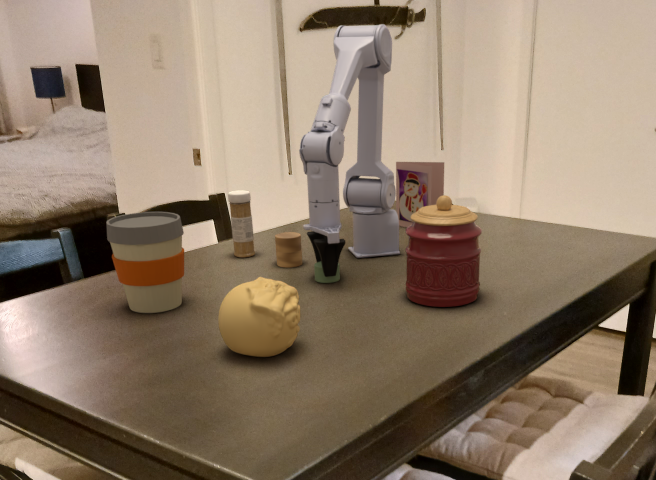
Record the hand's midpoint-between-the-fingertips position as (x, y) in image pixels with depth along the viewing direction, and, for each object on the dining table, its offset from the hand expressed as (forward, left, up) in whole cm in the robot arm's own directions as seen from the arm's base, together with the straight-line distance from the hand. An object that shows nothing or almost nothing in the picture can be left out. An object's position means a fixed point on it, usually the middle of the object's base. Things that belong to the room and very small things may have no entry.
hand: (327, 272), depth 145 cm
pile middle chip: (+5, -13, +2) cm, 14 cm away
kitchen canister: (-17, +17, -2) cm, 24 cm away
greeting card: (-31, -35, -2) cm, 47 cm away
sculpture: (+17, +32, -2) cm, 36 cm away
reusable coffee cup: (+32, +5, -2) cm, 32 cm away
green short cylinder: (0, 0, -1) cm, 1 cm away
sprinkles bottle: (+13, -23, -2) cm, 26 cm away
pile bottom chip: (+5, -13, -1) cm, 14 cm away
